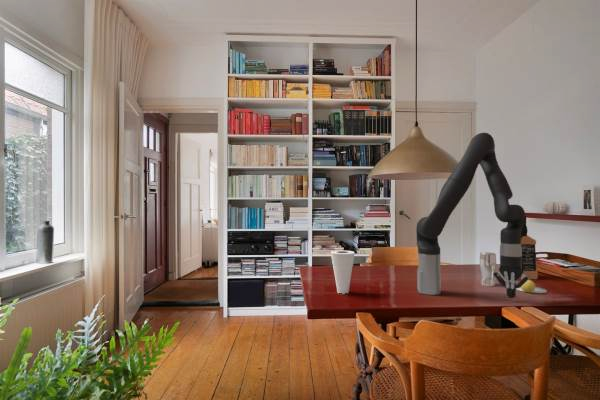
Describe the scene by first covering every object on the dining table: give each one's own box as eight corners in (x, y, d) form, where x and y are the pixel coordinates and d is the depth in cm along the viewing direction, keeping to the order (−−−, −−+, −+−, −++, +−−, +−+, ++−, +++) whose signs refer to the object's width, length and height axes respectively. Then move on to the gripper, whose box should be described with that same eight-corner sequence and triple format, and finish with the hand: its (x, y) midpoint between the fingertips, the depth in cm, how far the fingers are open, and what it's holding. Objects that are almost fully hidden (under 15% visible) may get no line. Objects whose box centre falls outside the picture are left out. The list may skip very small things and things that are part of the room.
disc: (523, 292, 150) (523, 292, 150) (510, 286, 162) (510, 285, 162) (553, 293, 148) (553, 293, 148) (537, 286, 160) (537, 286, 160)
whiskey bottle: (507, 275, 185) (506, 215, 185) (526, 274, 185) (525, 215, 185) (519, 279, 175) (518, 216, 175) (538, 279, 174) (538, 216, 174)
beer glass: (479, 285, 164) (479, 253, 164) (479, 282, 170) (479, 251, 170) (496, 287, 160) (496, 254, 160) (496, 283, 166) (495, 252, 166)
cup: (336, 296, 147) (335, 254, 147) (327, 290, 157) (327, 251, 157) (359, 294, 149) (358, 253, 149) (349, 288, 160) (348, 249, 160)
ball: (525, 277, 149) (530, 276, 152) (515, 285, 152) (520, 283, 155) (535, 288, 146) (540, 286, 149) (525, 295, 149) (530, 294, 152)
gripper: (532, 255, 135) (533, 299, 135) (496, 251, 145) (496, 292, 145) (526, 257, 130) (527, 303, 130) (489, 253, 140) (489, 296, 140)
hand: (511, 297), depth 138 cm, fingers closed
